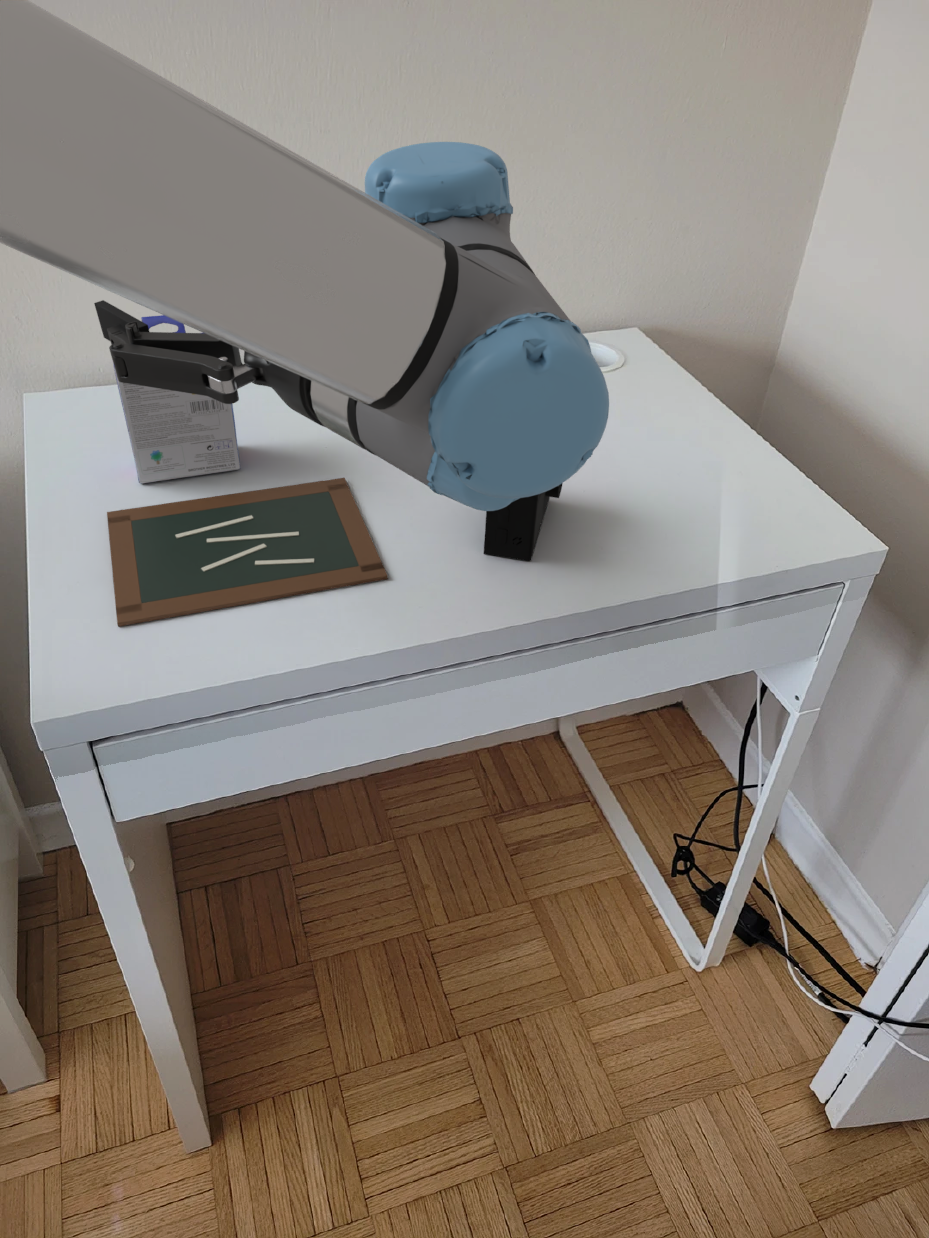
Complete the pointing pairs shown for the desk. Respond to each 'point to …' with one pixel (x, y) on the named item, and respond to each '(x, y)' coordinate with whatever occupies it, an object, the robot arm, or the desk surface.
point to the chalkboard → (238, 550)
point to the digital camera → (517, 526)
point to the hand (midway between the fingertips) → (181, 293)
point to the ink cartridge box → (177, 428)
